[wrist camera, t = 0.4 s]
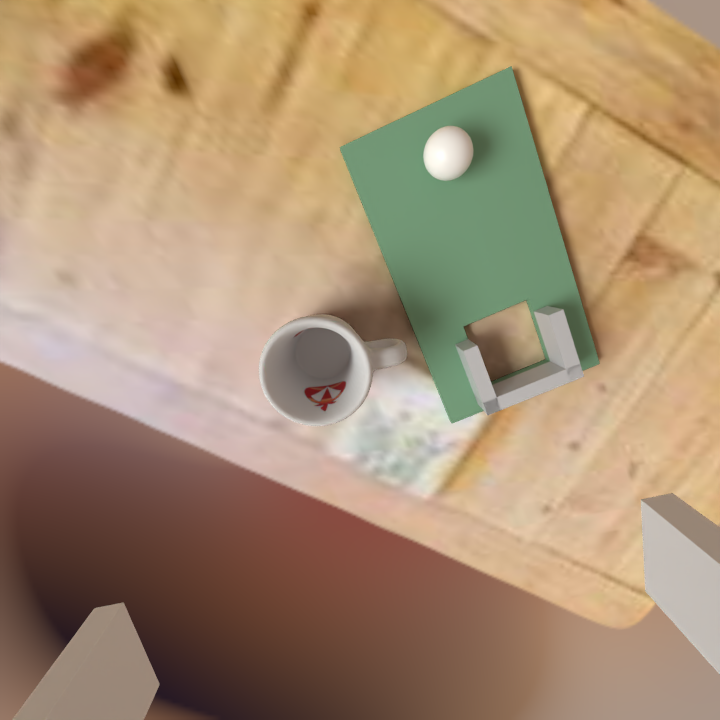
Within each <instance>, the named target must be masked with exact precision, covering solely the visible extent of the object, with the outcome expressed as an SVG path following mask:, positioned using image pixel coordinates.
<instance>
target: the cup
mask: <svg viewBox="0 0 720 720" xmlns="http://www.w3.org/2000/svg"><path fill="white" fill-rule="evenodd" d="M406 358H407V348H406V345H405V343H404V342H403V341H402V340H399V339H380V340H374V341H367V342H365V341H363V340H362V339H361V338H360V336H359V335H358V334H357V333H356V332H355V330H354V329H353V328H352V327H351V326H350V325H349V324H348V323H346V322H345V321H344V320H342V319H340V318H338V317H335V316H332V315H327V314H316V315H310V316H306V317H302V318H298V319H295V320H293V321H290V322H288V323H286V324H285V325H283V326H282V327H280V328H279V329H278V330H277V331H276V332H275V333H274V334H273V335H272V336H271V337H270V339H269V340H268V341H267V343H266V345H265V347H264V349H263V351H262V354H261V358H260V363H259V378H260V383H261V387H262V389H263V392H264V394H265V396H266V398H267V399H268V401H269V402H270V404H271V405H272V406H273V407H274V408H275V409H276V410H277V411H278V412H279V413H280V414H282V415H283V416H284V417H286V418H288V419H290V420H292V421H294V422H296V423H299V424H303V425H308V426H326V425H331V424H334V423H337V422H340V421H342V420H344V419H346V418H347V417H349V416H350V415H352V414H353V413H354V412H355V411H356V410H357V409H358V408H359V407H360V406H361V405H362V403H363V402H364V400H365V399H366V397H367V395H368V393H369V390H370V387H371V383H372V377H373V371H375V370H377V369H382V368H387V367H391V366H395V365H398V364H401V363H402V362H404V361H405V360H406Z"/></svg>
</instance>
